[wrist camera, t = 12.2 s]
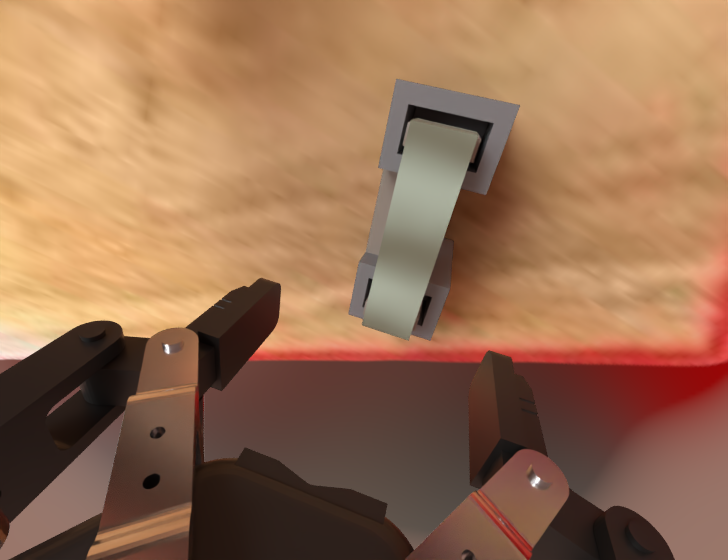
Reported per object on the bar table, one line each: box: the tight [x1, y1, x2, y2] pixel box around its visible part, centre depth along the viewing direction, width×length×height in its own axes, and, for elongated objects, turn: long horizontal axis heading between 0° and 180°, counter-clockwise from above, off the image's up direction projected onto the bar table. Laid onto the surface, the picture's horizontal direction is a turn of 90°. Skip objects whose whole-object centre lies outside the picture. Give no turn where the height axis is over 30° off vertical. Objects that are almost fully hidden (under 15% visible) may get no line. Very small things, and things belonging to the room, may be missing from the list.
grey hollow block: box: [349, 79, 520, 340], centre depth 27 cm, size 17×7×10 cm, turn 169°
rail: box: [362, 118, 481, 341], centre depth 23 cm, size 14×4×6 cm, turn 169°
